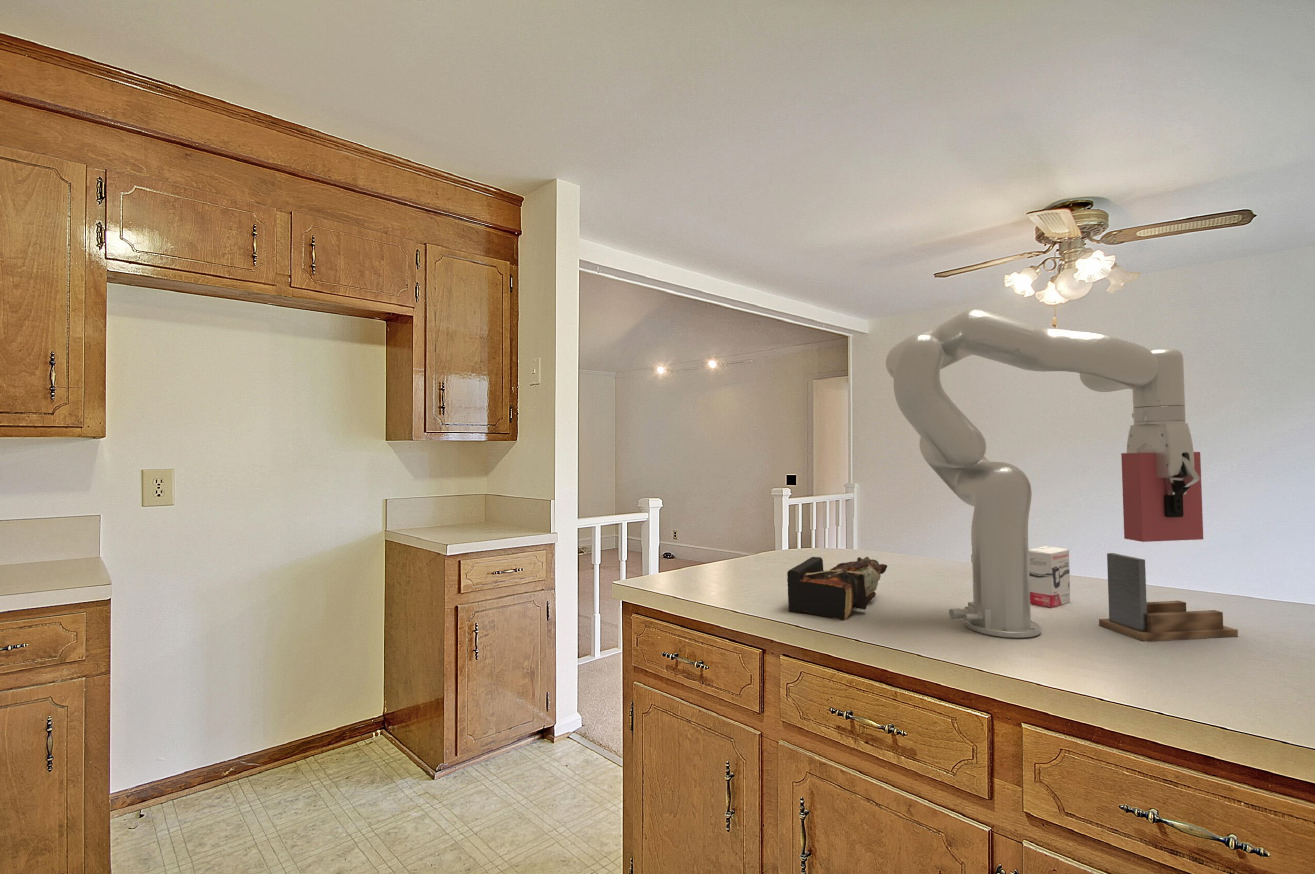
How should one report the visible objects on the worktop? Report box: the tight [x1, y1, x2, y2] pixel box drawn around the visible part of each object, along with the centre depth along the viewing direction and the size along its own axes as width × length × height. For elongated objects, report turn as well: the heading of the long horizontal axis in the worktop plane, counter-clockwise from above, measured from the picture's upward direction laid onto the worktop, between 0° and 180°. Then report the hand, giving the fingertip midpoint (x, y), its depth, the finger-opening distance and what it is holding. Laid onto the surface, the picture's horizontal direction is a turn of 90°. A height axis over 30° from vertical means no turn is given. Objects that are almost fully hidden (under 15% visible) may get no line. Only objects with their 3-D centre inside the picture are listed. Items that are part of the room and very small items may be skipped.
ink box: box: [1029, 545, 1071, 609], centre depth 137 cm, size 8×5×12 cm, turn 123°
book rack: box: [1098, 600, 1239, 642], centre depth 115 cm, size 18×10×4 cm, turn 95°
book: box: [1120, 451, 1204, 543], centre depth 115 cm, size 12×4×16 cm, turn 95°
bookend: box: [786, 556, 888, 621], centre depth 139 cm, size 15×11×25 cm
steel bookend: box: [1106, 552, 1148, 632], centre depth 115 cm, size 1×7×14 cm, turn 5°
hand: (1162, 514), depth 115 cm, fingers closed on book, 4 cm apart
